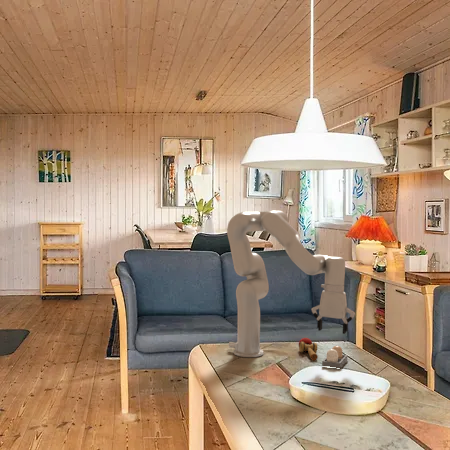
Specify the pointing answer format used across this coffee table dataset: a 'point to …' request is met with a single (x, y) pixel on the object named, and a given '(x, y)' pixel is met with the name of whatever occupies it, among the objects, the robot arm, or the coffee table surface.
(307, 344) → the kendama
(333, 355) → the egg
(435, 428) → the coffee table surface
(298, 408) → the coffee table surface
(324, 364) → the carton
